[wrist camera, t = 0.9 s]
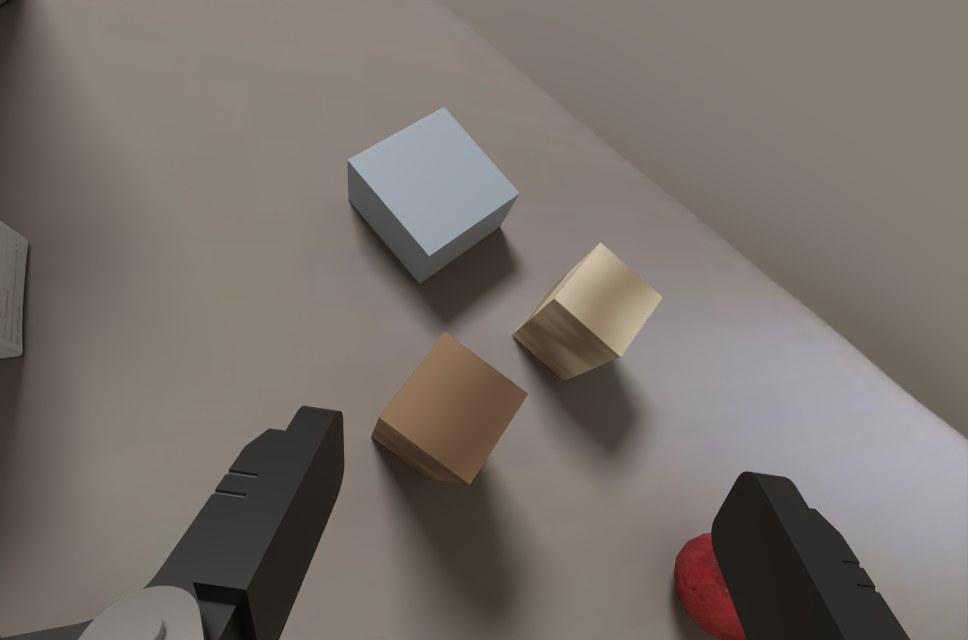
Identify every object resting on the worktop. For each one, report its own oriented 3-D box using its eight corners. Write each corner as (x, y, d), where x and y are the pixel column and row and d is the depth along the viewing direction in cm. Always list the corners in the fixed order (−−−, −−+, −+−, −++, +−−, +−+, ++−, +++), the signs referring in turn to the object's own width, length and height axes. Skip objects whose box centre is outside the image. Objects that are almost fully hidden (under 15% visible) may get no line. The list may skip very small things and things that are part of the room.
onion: (633, 576, 32) (718, 609, 24) (679, 508, 34) (769, 519, 26) (696, 642, 31) (801, 696, 24) (738, 569, 34) (846, 598, 26)
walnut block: (371, 436, 30) (379, 417, 19) (414, 380, 32) (444, 331, 21) (428, 479, 30) (469, 484, 19) (468, 420, 32) (528, 393, 21)
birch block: (511, 335, 34) (554, 298, 27) (550, 288, 36) (600, 242, 29) (563, 381, 34) (620, 357, 27) (600, 332, 36) (662, 297, 29)
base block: (348, 201, 35) (347, 160, 30) (433, 151, 38) (443, 107, 33) (419, 285, 34) (429, 256, 29) (499, 227, 37) (519, 193, 32)
